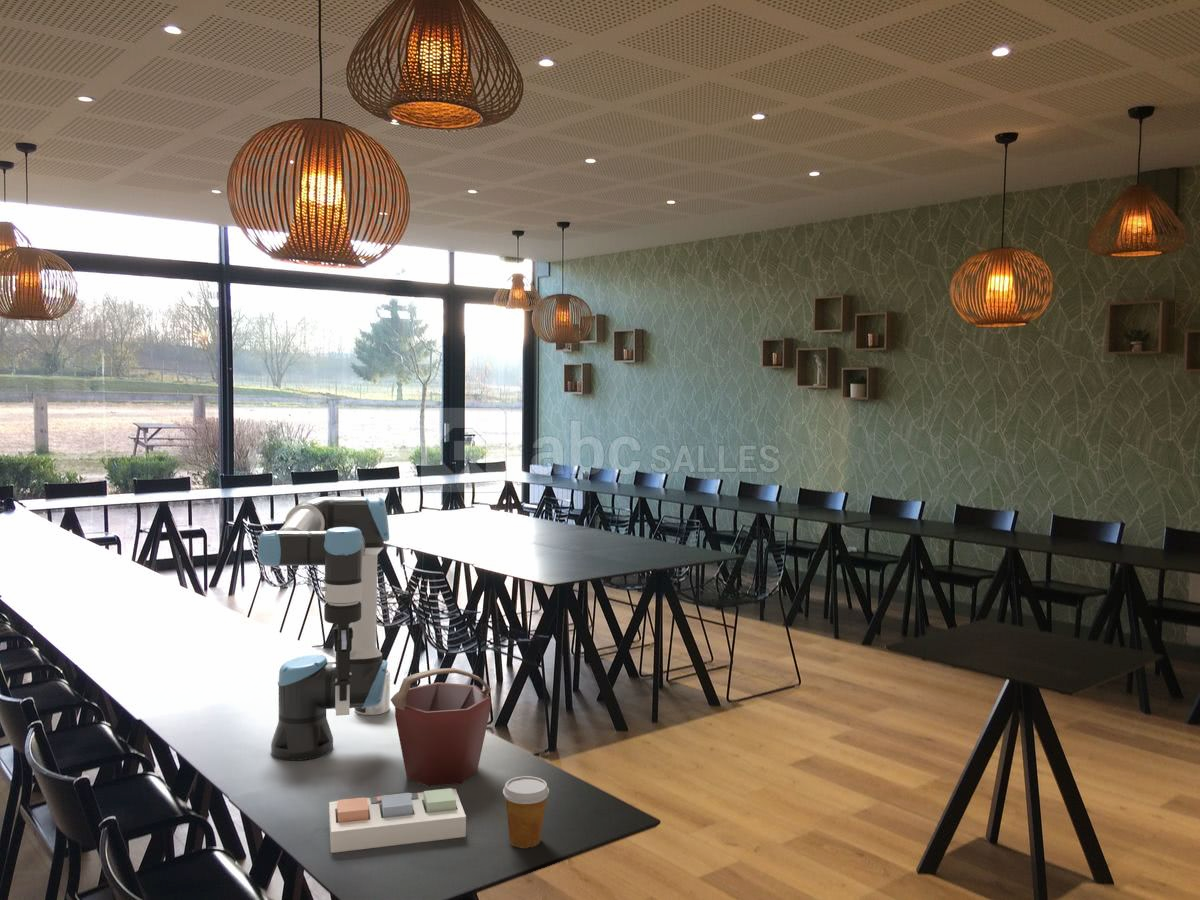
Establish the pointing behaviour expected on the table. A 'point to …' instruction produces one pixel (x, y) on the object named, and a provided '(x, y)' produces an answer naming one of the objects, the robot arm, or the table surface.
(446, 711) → the bucket
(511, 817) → the disposable coffee cup
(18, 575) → the table surface
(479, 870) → the table surface
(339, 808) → the terracotta key
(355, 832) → the keypad
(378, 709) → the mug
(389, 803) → the slate key
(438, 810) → the sage key
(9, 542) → the table surface
